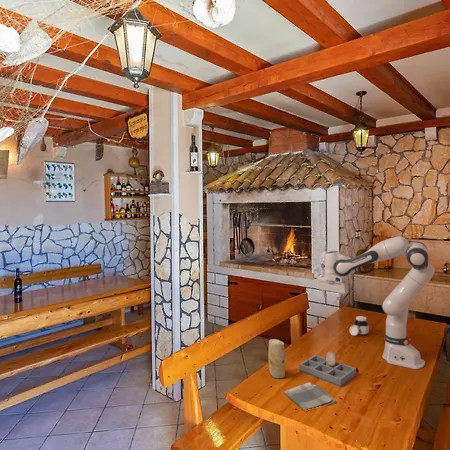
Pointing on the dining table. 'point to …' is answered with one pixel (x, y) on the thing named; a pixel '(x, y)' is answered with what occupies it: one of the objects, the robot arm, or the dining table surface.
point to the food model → (276, 358)
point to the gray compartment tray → (327, 370)
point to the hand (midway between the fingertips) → (331, 298)
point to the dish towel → (309, 396)
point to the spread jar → (359, 326)
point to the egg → (330, 359)
